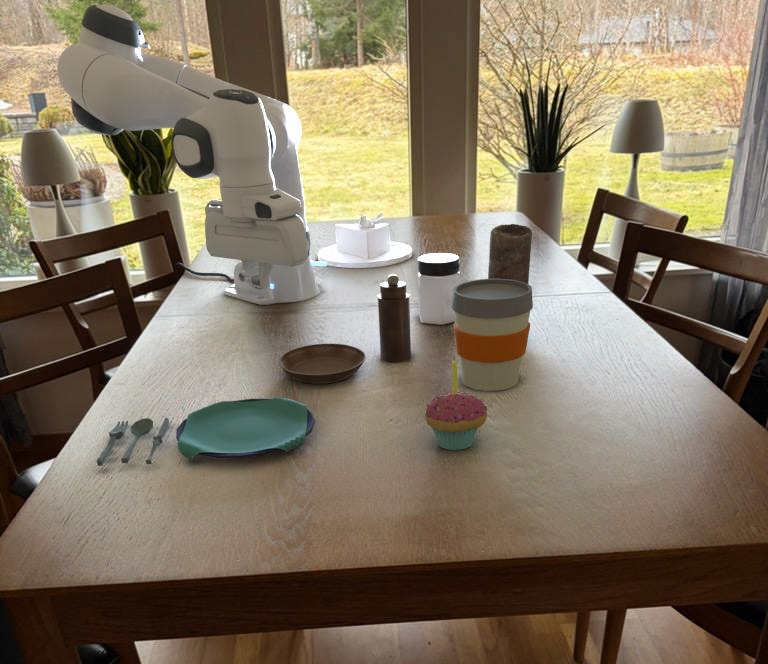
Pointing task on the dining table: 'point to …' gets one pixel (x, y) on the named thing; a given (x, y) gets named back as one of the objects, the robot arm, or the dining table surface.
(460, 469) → the dining table surface
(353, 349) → the saucer
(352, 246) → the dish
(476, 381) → the reusable coffee cup
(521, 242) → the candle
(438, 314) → the jar
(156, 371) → the dining table surface
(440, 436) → the cupcake
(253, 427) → the cutlery set
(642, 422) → the dining table surface
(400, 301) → the pepper mill
